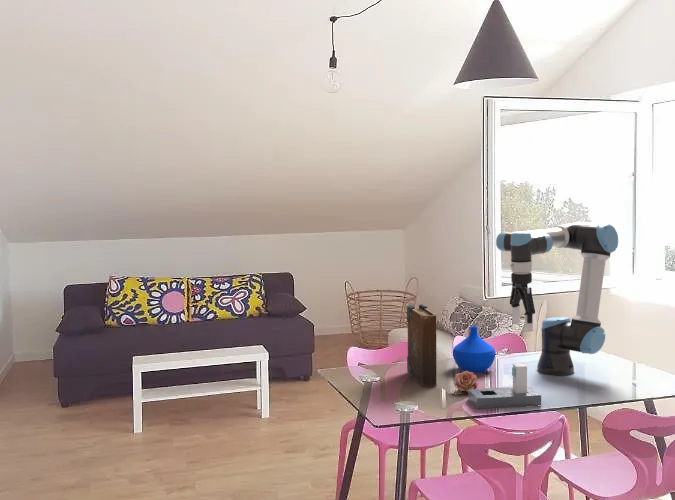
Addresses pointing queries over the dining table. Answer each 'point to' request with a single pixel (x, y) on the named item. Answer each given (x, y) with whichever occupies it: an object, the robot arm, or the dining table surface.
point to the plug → (519, 378)
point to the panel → (503, 398)
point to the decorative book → (421, 345)
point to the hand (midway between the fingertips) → (522, 327)
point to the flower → (466, 381)
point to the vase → (474, 353)
